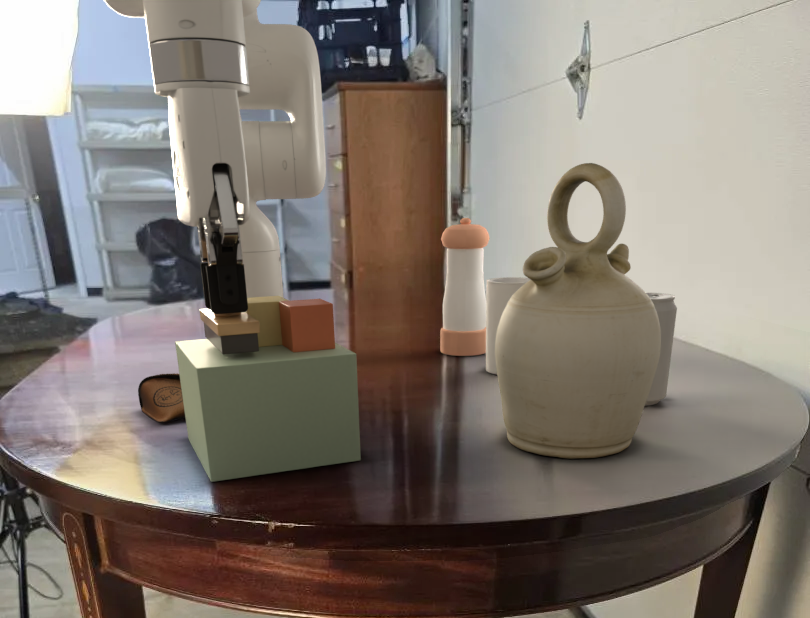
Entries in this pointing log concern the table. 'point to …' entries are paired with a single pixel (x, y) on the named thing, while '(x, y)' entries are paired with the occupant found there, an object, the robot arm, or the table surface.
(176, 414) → the sunglasses case
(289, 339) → the terracotta block
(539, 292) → the jug
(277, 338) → the mustard yellow block
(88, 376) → the table surface
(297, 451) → the green box
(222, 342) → the brush
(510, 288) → the mug
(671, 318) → the beverage can
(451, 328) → the salt shaker
